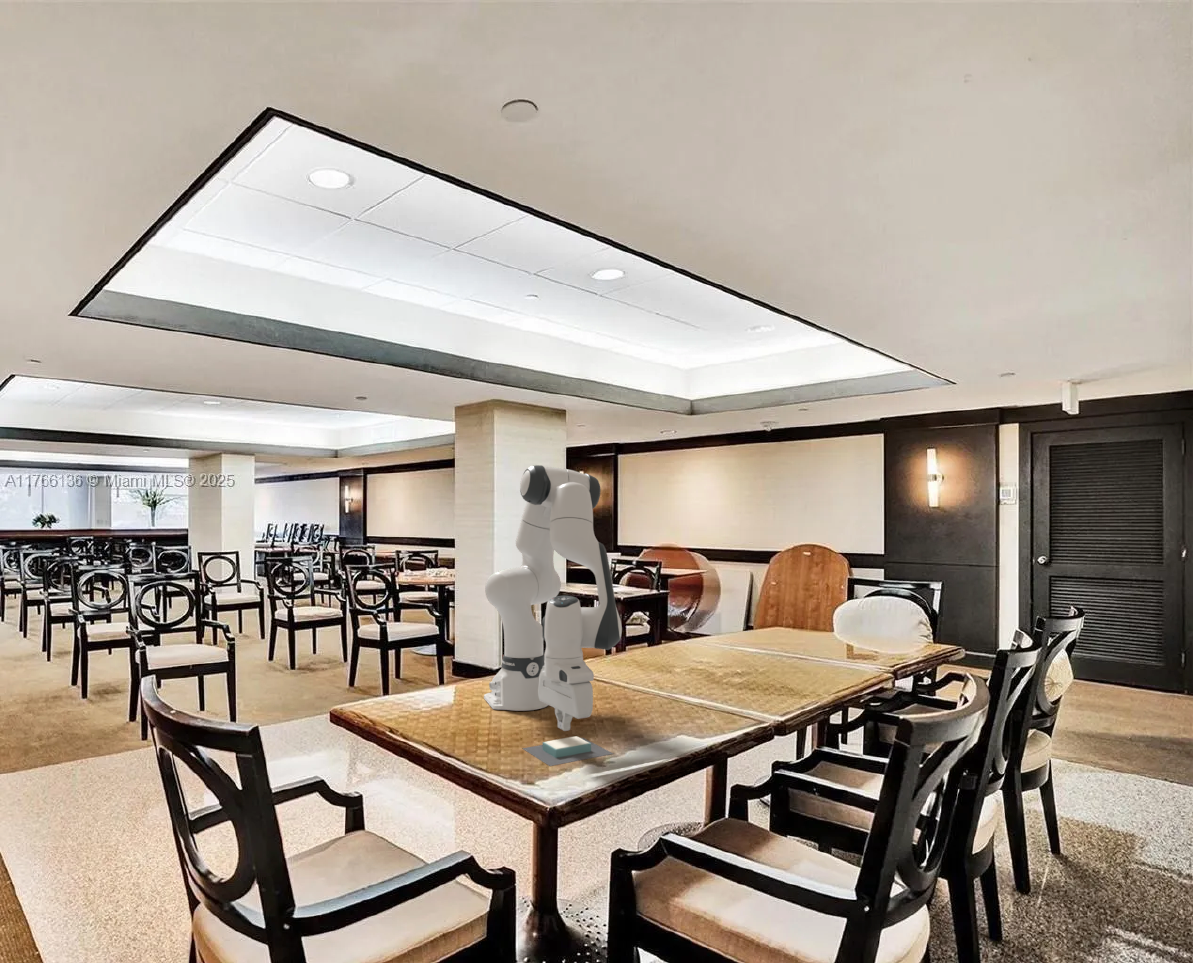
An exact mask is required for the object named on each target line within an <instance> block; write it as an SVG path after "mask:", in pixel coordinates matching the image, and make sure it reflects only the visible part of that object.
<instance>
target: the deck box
mask: <svg viewBox="0 0 1193 963" xmlns="http://www.w3.org/2000/svg"><path fill="white" fill-rule="evenodd" d="M581 738H582V737H579V736H576V735H575V736H569V737H564V738H559V739H558V738H557V739H553V740H548V741H543V742H542V745H543V751H545V752H547V753H548V754H550V755H552V756H553V757H555V758H558V757H563V756H569V755H574V754H579V753H585V752H590V751H591V743H589V742H587V741H585V740H583V739H581Z"/></svg>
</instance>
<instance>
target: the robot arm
mask: <svg viewBox="0 0 1193 963" xmlns="http://www.w3.org/2000/svg"><path fill="white" fill-rule="evenodd" d="M600 484H601V483H600V482H599V479H598V478H596V477H595V476H593V475H591V474H588V473H582V472H579V471H576V470H573V469H567V468H559V467H551V466H550V467H549V466H544V465H537V464H535V465H530V466H529V467H527V468H526V469H525V470H524V472H523V474H522V476H521V480H520V486H519V489H520V490H519V491H520V495H521V497H522V499H523V500H524V501H525V502H526V504H525V506H524V508H523V512H522V516H521V520H520V523H519V528H518V531H517V535H516V540H515V546H516V548H517V550H518V552H520V554H521V555H522V557H521V558H522V562H521V566H520V567H513V568H505V569H502V570H498V571H496V572H494V573H492V574H490V576H488V578H487V579H486V582H485V588H484V593H485V596H486V599H487V601H488V603H490V604H491V605H492V606H493V608H495V609H496V611H497V613H498V614H499V618H500V619H501V622H502V628H503V639H504V640H503V642H504V643H503V644H504V646H503V648H504V654H502V655H501V656H502V659H501V665H500V666H501V669H500V670H498V672H497V673H496V675H494V677H493V678H492V680H491V681H490V682H489V684H488V685H489V687H488V688H489V690H491V691H490V692H487V693H484V695H483V699H484V700H485V701H486V702H487V704H488V705H489V707H490V708H491V709H493V710H499V711H500V710H506V711H516V712H518V711H523V712H525V711H534V710H539V709H544V708H547V707H548V706H550V707H552V708H554V714H555V717H556V720H557V728H558V729H560V730H562V731H563V732H567V731H570V730H571V722H572V721H573V718H575V719H578V720H579V719H586V718H589V717H591V715H592V714H593V709H594V708H593V707H594V704H593V703H594V690H593V689H594V688H593V684H592V682H593V681H594V678H595V676H594V675H595V674H594V672H593V670H592V669H591V668H590V667H589V666H588V664H586V661H585V660H584V653H583V649H582V648H584V649H585V648H587V649H592V648H593V649H596V650H597V649H598V650H607V651H609V650H610V649H612V648H614V647H615V646H616V645H617V644H619V642H620V641H621V639H622V638H621V637H622V632H623V627H622V621H621V617H620V614H619V611H618V608H617V603H616V597H615V591H614V590H615V589H614V583H613V580H612V579H613V578H612V573H611V567H610V564H609V558H608V554H607V549H606V547H605V545H604V544H603V543H601V542H599V541H598V539H597V538H596V536H595V531H594V510H593V509H595V508H596V507H597V506H598V503H599V501H600V498H601V497H600V496H601V491H602V490H601V485H600ZM555 552H556V553H557V554H558V555H559V556H561V557H562V558H564V559H565V560H568V561H570V562H573V563H576V564H578V565H581V566H583V567H585V568H587V569H588V570H590V571H591V572H592V573H593V575H594V577H595V583H596V590H597V594H598V595H597V596H598V602H599V604H598V605H597V606H594V607H593V606H592V607H591V606H590V607H586V606H582V607H581V602H580V600H579V599H578V598H577V597H575V596H572V595H559V593H560V591H561V585H562V583H561V582H562V581H561V578H560V576H559V573H558V572H557V571H556V569H555V563H554V553H555ZM544 603H546V607H545V608H546V609H545V615H544V616H543V618H542V621H541V622H542V624H541V623H540V622H539V621H537V620H536V619H535V616H534V615H533V610H532V606H533V605H541V604H544ZM544 641H545V650H544Z"/></svg>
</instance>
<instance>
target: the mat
mask: <svg viewBox="0 0 1193 963" xmlns="http://www.w3.org/2000/svg"><path fill="white" fill-rule="evenodd" d="M580 738H581V739H583V740H585V741H587V742H589V743H591V751H590V752H585V753H579V754H574V755H569V756H563V757H558V758H555V757H553V756H552V755H550V754H548V753H547V752H545V751H543V744H540V745H533V746H528V747H523V748H522V750H524V751H526V752H527V753H528V754H530V755H531V756H533V757H534V758H536V759H538V760H539V761H541V762H542V763H544V764H546V765H547V766H548V767H552V766H553V767H554V766H558V765H562V764H567V763H575V762H579V761H583V760H589V759H595V758H600V757H605V756H609V755H611V756H612V755H614V753H613V752H612V751H609V750H607V749H605V748H603V747H602V746H599V745H598V744H596V743H594V742H592V741H590V740H588V739H586V738H585V737H580Z"/></svg>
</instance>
